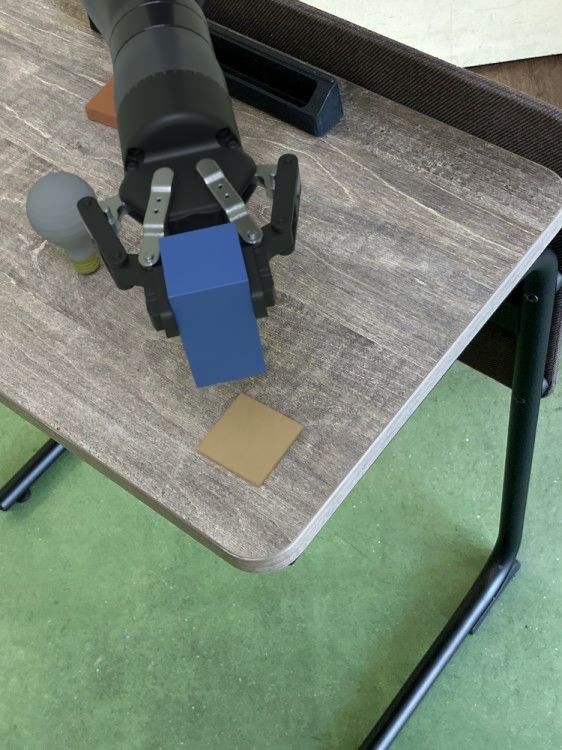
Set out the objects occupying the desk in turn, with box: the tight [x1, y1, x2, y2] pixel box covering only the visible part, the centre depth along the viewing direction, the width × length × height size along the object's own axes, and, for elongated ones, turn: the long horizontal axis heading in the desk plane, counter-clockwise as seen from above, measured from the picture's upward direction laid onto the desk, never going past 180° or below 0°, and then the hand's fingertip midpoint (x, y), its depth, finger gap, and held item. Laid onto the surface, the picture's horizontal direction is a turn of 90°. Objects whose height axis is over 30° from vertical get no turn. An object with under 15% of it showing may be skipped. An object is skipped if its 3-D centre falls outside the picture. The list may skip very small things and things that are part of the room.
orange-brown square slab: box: [84, 75, 118, 130], centre depth 90 cm, size 8×8×2 cm
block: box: [158, 222, 268, 389], centre depth 56 cm, size 4×4×9 cm
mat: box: [195, 392, 305, 488], centre depth 68 cm, size 6×6×1 cm
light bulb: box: [25, 171, 100, 275], centre depth 75 cm, size 5×6×10 cm
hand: (215, 317), depth 52 cm, fingers closed on block, 4 cm apart
